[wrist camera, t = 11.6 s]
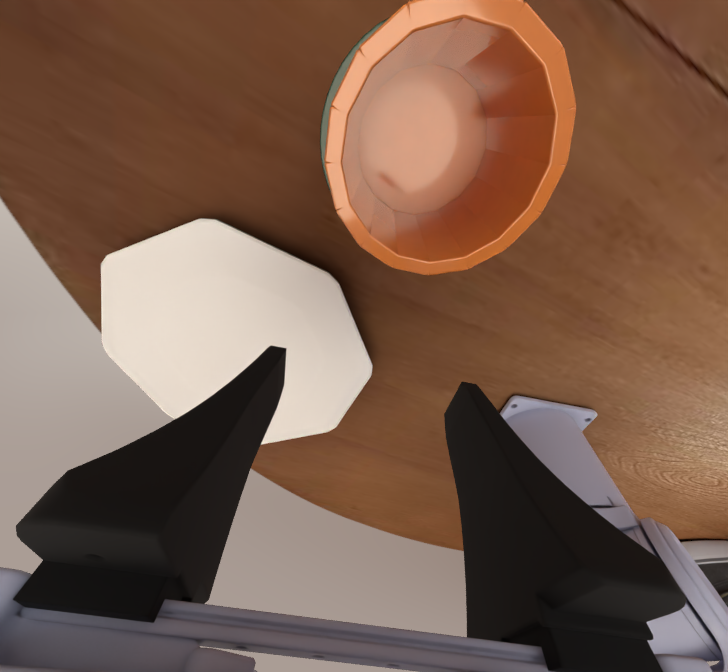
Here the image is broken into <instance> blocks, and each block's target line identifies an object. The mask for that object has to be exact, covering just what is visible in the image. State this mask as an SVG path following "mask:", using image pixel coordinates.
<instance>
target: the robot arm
mask: <svg viewBox="0 0 728 672" xmlns="http://www.w3.org/2000/svg"><path fill="white" fill-rule="evenodd" d="M286 349H287V348H282V347H277V346H269V347H268V348H267V349H266V350H265V351H264V352H263V353H262V354H261V355H260V356H259V357H258V358H257V359H256V360H254V361H253V362H252V363H251V364H250V365H249V366H248V367H247V368H246V369H244V370H243V371H242V372H241V373H240V374H239V375H237V376H236V377H235V378H234V379H233V380H231V381H230V382H229V383H228V384H226V385H225V386H224V387H222V388H221V389H220V390H219V391H217V392H216V393H215V394H213V395H212V396H211V397H209V398H208V399H206V400H205V401H203V402H202V403H201V404H199V405H197V406H196V407H194V408H193V409H191V410H190V411H188V412H187V413H185V414H183V415H182V416H180V417H178V418H177V419H175V420H173V421H172V422H170V423H168V424H166V425H165V426H163V427H161V428H159V429H158V430H156V431H154V432H152V433H150V434H148V435H146V436H144V437H142V438H140V439H138V440H136V441H134V442H132V443H130V444H128V445H126V446H124V447H122V448H120V449H118V450H115V451H113V452H111V453H109V454H106V455H104V456H102V457H99V458H97V459H94V460H92V461H90V462H87V463H85V464H83V465H81V466H78V467H76V468H73V469H71V470H68V471H67V472H66V473H65V474H64V475H63V476H62V477H61V478H60V479H59V480H58V481H57V482H56V483H55V484H54V485H53V486H52V487H51V488H50V489H49V490H48V491H47V492H46V493H45V494H44V496H43V497H42V498H41V499H40V500H39V501H38V502H37V503H36V504H35V505H34V507H33V508H32V509H31V510H30V511H29V512H28V513H27V514H26V515H25V516H24V518H23V519H22V520H21V521H20V522H19V523H18V524H17V525H16V532H17V536H18V537H19V538H20V540H21V541H22V542H23V543H24V544H25V545H27V546H28V547H29V548H30V549H31V550H32V551H34V552H35V553H36V554H37V555H38V556H39V557H41V558H42V559H43V561H42V563H41V564H40V565H39V566H38V568H37V569H36V570H35V571H34V573H33V574H30V573H27V572H24V571H21V570H15V569H9V568H1V567H0V672H257V671H256V670H254V667H255V660H254V658H251V657H247V656H243V655H239V654H234V653H230V652H226V651H222V650H217V649H212V648H200V646H206V647H216V648H223V649H232V650H240V651H249V652H258V653H267V654H274V655H283V656H292V657H300V658H309V659H317V660H325V661H334V662H342V663H351V664H360V665H368V666H377V667H385V668H393V669H402V670H410V671H419V672H728V607H727V606H726V604H725V603H724V601H723V600H722V598H721V597H720V596H719V594H718V593H717V591H716V590H715V589H714V587H713V586H712V584H711V583H710V582H709V580H708V579H707V577H706V576H705V575H704V573H703V572H702V570H701V569H700V568H699V566H698V565H697V564H696V562H695V561H694V560H693V558H692V557H691V556H690V554H689V553H688V552H687V550H686V549H685V548H684V546H683V545H682V544H681V542H680V541H679V540H678V539H677V537H676V536H675V535H674V533H673V532H672V531H671V530H670V529H669V528H668V527H667V526H666V525H664V524H662V523H659V522H656V521H655V520H653V519H652V518H649V517H648V518H644V519H639V518H638V517H637V516H636V515H635V514H634V513H633V511H632V510H631V508H630V507H629V505H628V504H627V502H626V500H625V499H624V497H623V496H622V494H621V493H620V491H619V489H618V488H617V486H616V485H615V483H614V482H613V480H612V479H611V477H610V475H609V474H608V472H607V471H606V469H605V468H604V466H603V464H602V463H601V461H600V460H599V458H598V457H597V455H596V454H595V452H594V450H593V449H592V447H591V446H590V444H589V443H588V441H587V439H586V438H585V436H584V435H583V433H582V431H583V430H584V429H585V428H586V427H587V426H588V425H589V424H590V423H591V422H592V421H593V420H594V419H595V418H596V416H597V413H596V412H595V410H592V409H587V408H581V407H576V406H571V405H565V404H560V403H555V402H549V401H544V400H539V399H534V398H528V397H523V396H513V397H511V398H510V399H509V401H508V402H507V404H506V405H505V406H504V408H503V409H502V411H501V412H500V413H499V412H498V411H497V410H496V408H495V407H494V406H493V404H492V403H491V402H490V401H489V399H488V398H487V397H486V396H485V394H484V393H483V392H482V391H481V389H480V388H479V387H478V386H477V385H476V384H472V383H467V382H462V383H461V384H460V386H459V388H458V390H457V392H456V394H455V395H454V397H453V399H452V401H451V403H450V405H449V406H448V408H447V410H446V412H445V414H444V416H445V431H446V440H447V445H448V450H449V455H450V460H451V464H452V469H453V474H454V478H455V483H456V488H457V493H458V499H459V506H460V515H461V524H462V535H463V547H464V561H465V578H466V605H467V637H459V636H451V635H443V634H435V633H427V632H419V631H412V630H404V629H396V628H388V627H381V626H373V625H365V624H357V623H349V622H341V621H333V620H325V619H318V618H310V617H302V616H294V615H286V614H278V613H270V612H262V611H255V610H247V609H239V608H231V607H223V606H215V605H207V604H205V602H207V601H208V600H209V597H210V594H211V590H212V587H213V583H214V580H215V577H216V574H217V570H218V567H219V564H220V560H221V557H222V553H223V550H224V547H225V544H226V541H227V537H228V535H229V531H230V528H231V525H232V522H233V519H234V516H235V513H236V509H237V506H238V503H239V500H240V497H241V494H242V491H243V489H244V485H245V483H246V480H247V477H248V474H249V471H250V468H251V466H252V463H253V461H254V458H255V456H256V454H257V452H258V449H259V447H260V445H261V443H262V440H263V438H264V436H265V434H266V432H267V429H268V427H269V425H270V423H271V420H272V418H273V416H274V414H275V411H276V409H277V407H278V403H279V400H280V397H281V394H282V391H283V387H284V381H285V365H286ZM513 404H514V405H513ZM706 661H720V662H719V663H717V664H716V665H713V666H709V665H708V663H707V662H706Z"/></svg>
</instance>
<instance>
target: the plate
mask: <svg viewBox="0 0 728 672" xmlns="http://www.w3.org/2000/svg"><path fill="white" fill-rule="evenodd" d="M101 312H102V346H103V348H104V349H105V351H106V353H107V355H108V356H109V357H110V358H111V359H112V360H113V361H114V362H115V363H116V364H117V365H118V366H119V367H120V368H121V369H122V370H123V371H124V372H125V373H126V374H127V375H128V376H129V377H130V378H131V379H132V380H133V381H134V382H135V383H136V384H137V385H138V386H139V387H140V388H141V389H142V390H143V391H144V392H145V393H146V394H147V395H148V396H149V397H150V398H151V399H152V400H153V401H154V402H155V403H156V404H157V405H158V406H159V407H160V408H161V409H162V410H163V411H164V412H165V413H166V414H167V415H169V416H171V417H172V418H174V419H177V418H178V417H180V416H182V415H183V414H185V413H187V412H188V411H190V410H191V409H193V408H194V407H196V406H197V405H199V404H201V403H202V402H203V401H205V400H206V399H208V398H209V397H211V396H212V395H213V394H215V393H216V392H217V391H219V390H220V389H221V388H222V387H224V386H225V385H226V384H228V383H229V382H230V381H231V380H233V379H234V378H235V377H236V376H237V375H239V374H240V373H241V372H242V371H243V370H244V369H246V368H247V367H248V366H249V365H250V364H251V363H252V362H253V361H254V360H256V359H257V358H258V357H259V356H260V355H261V354H262V353H263V352H264V351H265V350H266V349H267V348H268V347H269V346H277V347H282V348H287V349H286V365H285V381H284V387H283V391H282V394H281V397H280V400H279V403H278V407H277V409H276V411H275V414H274V416H273V418H272V420H271V423H270V425H269V427H268V429H267V432H266V434H265V436H264V438H263V440H262V443H261V444H266V443H272V442H277V441H282V440H288V439H293V438H298V437H304V436H309V435H315V434H320V433H325V432H329V431H330V430H332V429H334V428H336V426H337V425H338V424H339V422H340V421H341V419H342V418H343V416H344V415H345V413H346V412H347V410H348V409H349V407H350V406H351V404H352V403H353V402H354V400H355V399H356V397H357V396H358V394H359V393H360V391H361V390H362V388H363V387H364V385H365V384H366V383H367V381H368V380H369V378H370V377H371V375H372V367H373V366H372V362H371V359H370V357H369V354H368V352H367V350H366V347H365V345H364V342H363V340H362V337H361V335H360V333H359V330H358V328H357V325H356V323H355V320H354V318H353V316H352V313H351V311H350V308H349V306H348V303H347V301H346V298H345V296H344V294H343V291H342V289H341V286H340V284H339V282H338V281H337V280H336V279H335V278H334V277H333V276H332V275H331V274H330V273H329V272H328V271H326V270H324V269H321V268H319V267H317V266H315V265H313V264H311V263H309V262H307V261H305V260H302V259H300V258H298V257H296V256H294V255H292V254H290V253H288V252H286V251H283V250H281V249H279V248H277V247H275V246H273V245H271V244H269V243H267V242H264V241H262V240H260V239H258V238H256V237H254V236H252V235H250V234H248V233H245V232H243V231H241V230H239V229H237V228H235V227H233V226H231V225H229V224H226V223H224V222H222V221H220V220H218V219H209V218H200V219H197V220H195V221H192V222H190V223H187V224H184V225H182V226H179V227H177V228H174V229H172V230H169V231H167V232H164V233H162V234H159V235H157V236H154V237H152V238H149V239H146V240H144V241H141V242H139V243H136V244H134V245H131V246H129V247H126V248H124V249H121V250H119V251H116V252H114V253H111V254H108V255H107V256H106V257H105V259H104V260H103V262H102V263H101Z"/></svg>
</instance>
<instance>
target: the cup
mask: <svg viewBox="0 0 728 672" xmlns="http://www.w3.org/2000/svg"><path fill="white" fill-rule="evenodd" d="M562 46H563V45H562V43H561V42H560V41H559V40H558V38H557V37H556V36H555V35H554V34H553V32H552V31H551V30H550V29H549V28H548V27H547V25H546V24H545V23H544V22H543V21H542V19H541V18H540V17H539V16H538V15H537V14H536V12H535V11H534V10H533V9H532V8H531V6H530V5H529V4H528V3H527V2H524V0H412V1H409V2H408V3H407V4H404V5H403V6H402V7H401V8H400V9H398V10H397V11H396V12H395V13H394V14H393V15H392V16H391V17H390V18H389V19H388V20H387V21H386V22H385V23H383V24H382V25H381V26H380V27H379V28H378V29H377V30H376V31H375V32H374V33H373V34H372V35H371V36H370V37H368V38H367V39H366V40H365V41H364V42H363V43H362V44H361V45H360V46H359V49H357V50H356V52H355V54H354V56H353V58H352V61H351V63H350V65H349V67H348V69H347V71H346V73H345V75H344V77H343V79H342V82H341V84H340V86H339V88H338V90H337V92H336V94H335V96H334V98H333V100H332V103H331V107H330V111H329V120H328V129H327V139H326V148H325V158H324V161H325V169H326V173H327V177H328V182H329V186H330V190H331V194H332V198H333V203H334V207H335V209H336V212H337V214H338V215H339V217H340V218H341V220H342V221H343V223H344V224H345V226H346V227H347V229H348V230H349V232H350V233H351V235H352V236H353V238H354V239H355V241H356V242H357V243H358V245H360V247H361V248H363V249H364V250H366V251H367V252H369V253H370V254H372V255H373V256H375V257H376V258H378V259H379V260H381V261H382V262H384V263H385V264H386V265H388V266H389V267H392V268H395V269H399V270H404V271H409V272H413V273H418V274H423V275H436V274H443V273H449V272H455V271H462V270H467V268H468V269H470V268H472V267H474V266H476V265H477V264H479V263H481V262H483V261H485V260H487V259H489V258H491V257H493V256H495V255H496V254H498V253H500V252H502V251H504V250H505V249H506V248H508V247H509V246H510V245H511V244H512V243H513V242H514V241H515V240H516V239H517V238H518V237H519V236H520V235H521V234H522V233H523V232H524V231H525V230H526V229H527V228H528V227H529V226H530V225H531V224H532V223H533V222H534V221H535V220H536V219H537V218H538V217H539V216H540V213H542V212H543V210H544V208H545V206H546V204H547V203H548V201H549V199H550V197H551V195H552V193H553V191H554V189H555V187H556V185H557V183H558V181H559V180H560V178H561V176H562V174H563V172H564V170H565V168H566V164H567V163H568V157H569V151H570V145H571V139H572V133H573V127H574V121H575V114H576V99H575V95H574V90H573V85H572V81H571V76H570V72H569V67H568V63H567V58H566V53H565V49H564V48H563V47H562Z"/></svg>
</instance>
